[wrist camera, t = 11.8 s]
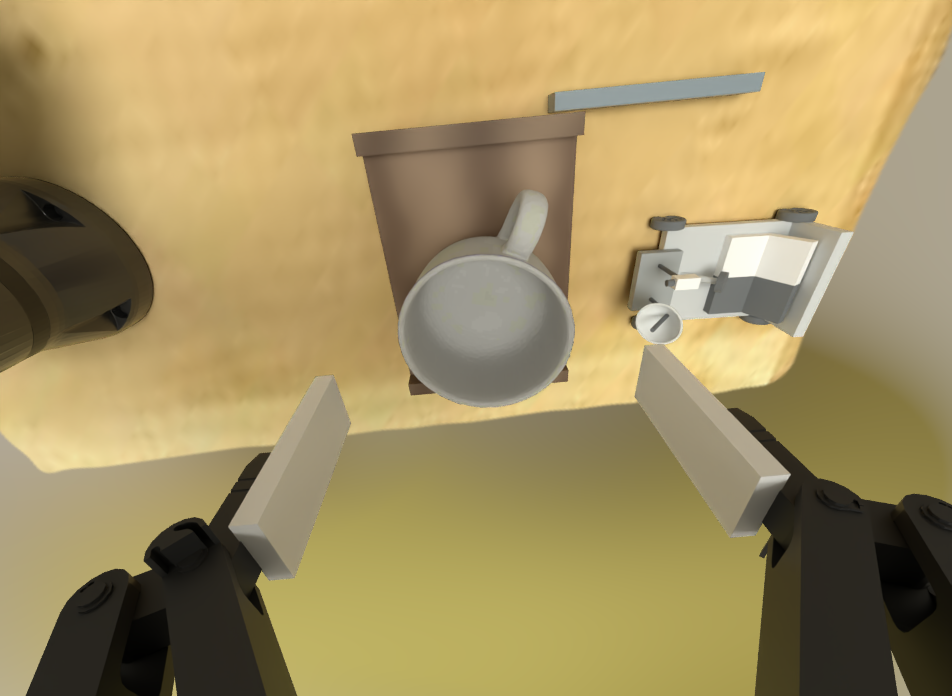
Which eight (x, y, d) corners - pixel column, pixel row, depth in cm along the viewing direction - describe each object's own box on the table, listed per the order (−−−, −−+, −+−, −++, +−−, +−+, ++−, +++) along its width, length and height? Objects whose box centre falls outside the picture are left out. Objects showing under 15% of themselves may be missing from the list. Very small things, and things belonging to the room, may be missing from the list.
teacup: (503, 367, 32) (514, 431, 25) (391, 317, 29) (369, 373, 22) (600, 229, 26) (650, 262, 19) (471, 147, 23) (476, 153, 16)
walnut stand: (421, 337, 40) (410, 395, 31) (384, 134, 30) (351, 134, 21) (543, 326, 40) (567, 381, 31) (547, 118, 30) (585, 111, 21)
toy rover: (641, 370, 32) (669, 244, 26) (604, 322, 41) (619, 218, 35) (835, 358, 33) (908, 228, 27) (758, 312, 41) (800, 206, 35)
